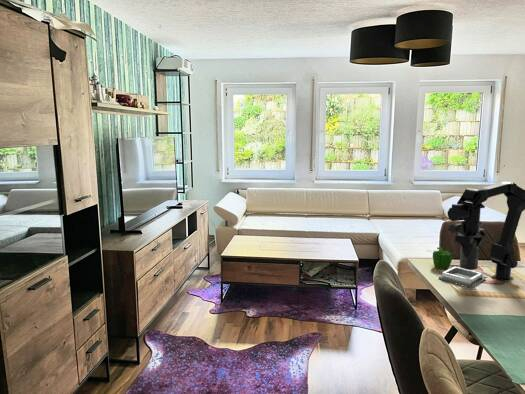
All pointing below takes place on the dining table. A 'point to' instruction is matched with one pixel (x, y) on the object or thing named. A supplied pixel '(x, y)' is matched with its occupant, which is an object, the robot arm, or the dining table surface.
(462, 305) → the dining table surface
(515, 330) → the dining table surface
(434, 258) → the bell pepper
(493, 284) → the dining table surface
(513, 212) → the robot arm
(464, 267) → the supplement bottle
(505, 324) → the dining table surface
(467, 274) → the gray square tray
